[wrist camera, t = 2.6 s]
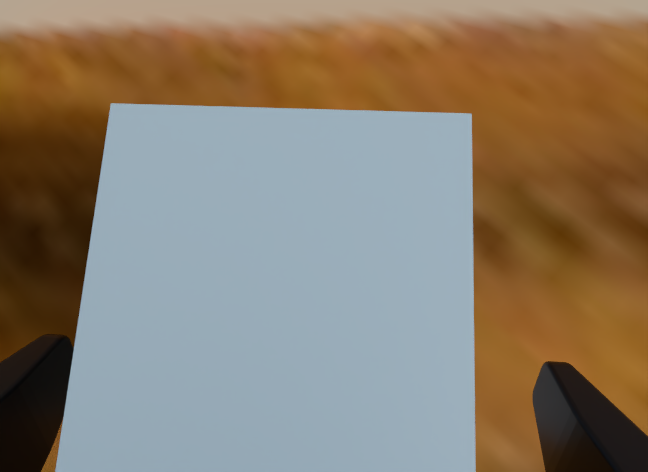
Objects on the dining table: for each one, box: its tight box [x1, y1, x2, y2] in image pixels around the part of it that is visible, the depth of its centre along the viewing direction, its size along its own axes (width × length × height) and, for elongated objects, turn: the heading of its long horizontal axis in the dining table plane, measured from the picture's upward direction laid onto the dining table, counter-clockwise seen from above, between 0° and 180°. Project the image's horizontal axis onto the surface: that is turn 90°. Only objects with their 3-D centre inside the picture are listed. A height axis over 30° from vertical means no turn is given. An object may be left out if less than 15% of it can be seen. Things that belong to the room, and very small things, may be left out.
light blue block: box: [55, 103, 476, 472], centre depth 12 cm, size 5×4×12 cm
